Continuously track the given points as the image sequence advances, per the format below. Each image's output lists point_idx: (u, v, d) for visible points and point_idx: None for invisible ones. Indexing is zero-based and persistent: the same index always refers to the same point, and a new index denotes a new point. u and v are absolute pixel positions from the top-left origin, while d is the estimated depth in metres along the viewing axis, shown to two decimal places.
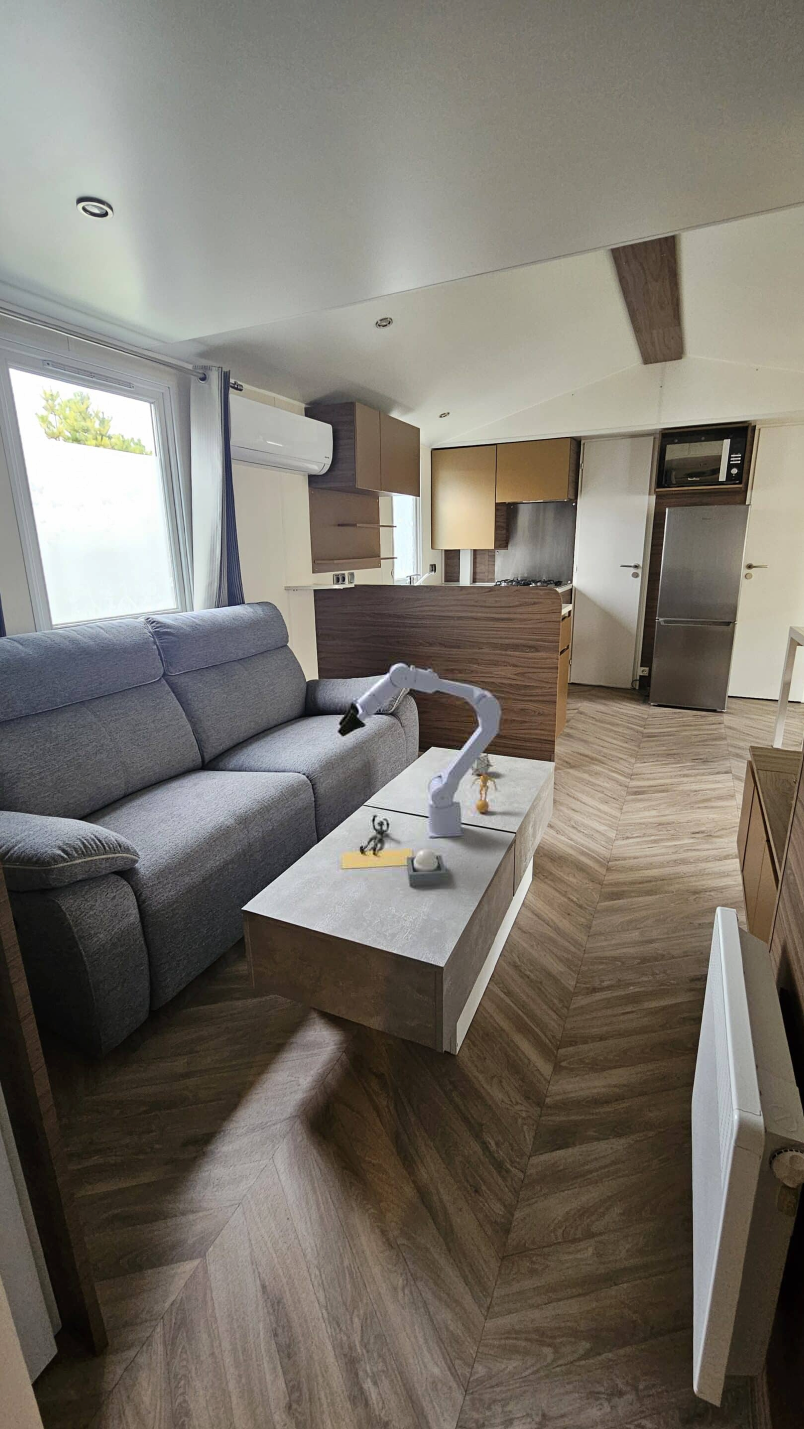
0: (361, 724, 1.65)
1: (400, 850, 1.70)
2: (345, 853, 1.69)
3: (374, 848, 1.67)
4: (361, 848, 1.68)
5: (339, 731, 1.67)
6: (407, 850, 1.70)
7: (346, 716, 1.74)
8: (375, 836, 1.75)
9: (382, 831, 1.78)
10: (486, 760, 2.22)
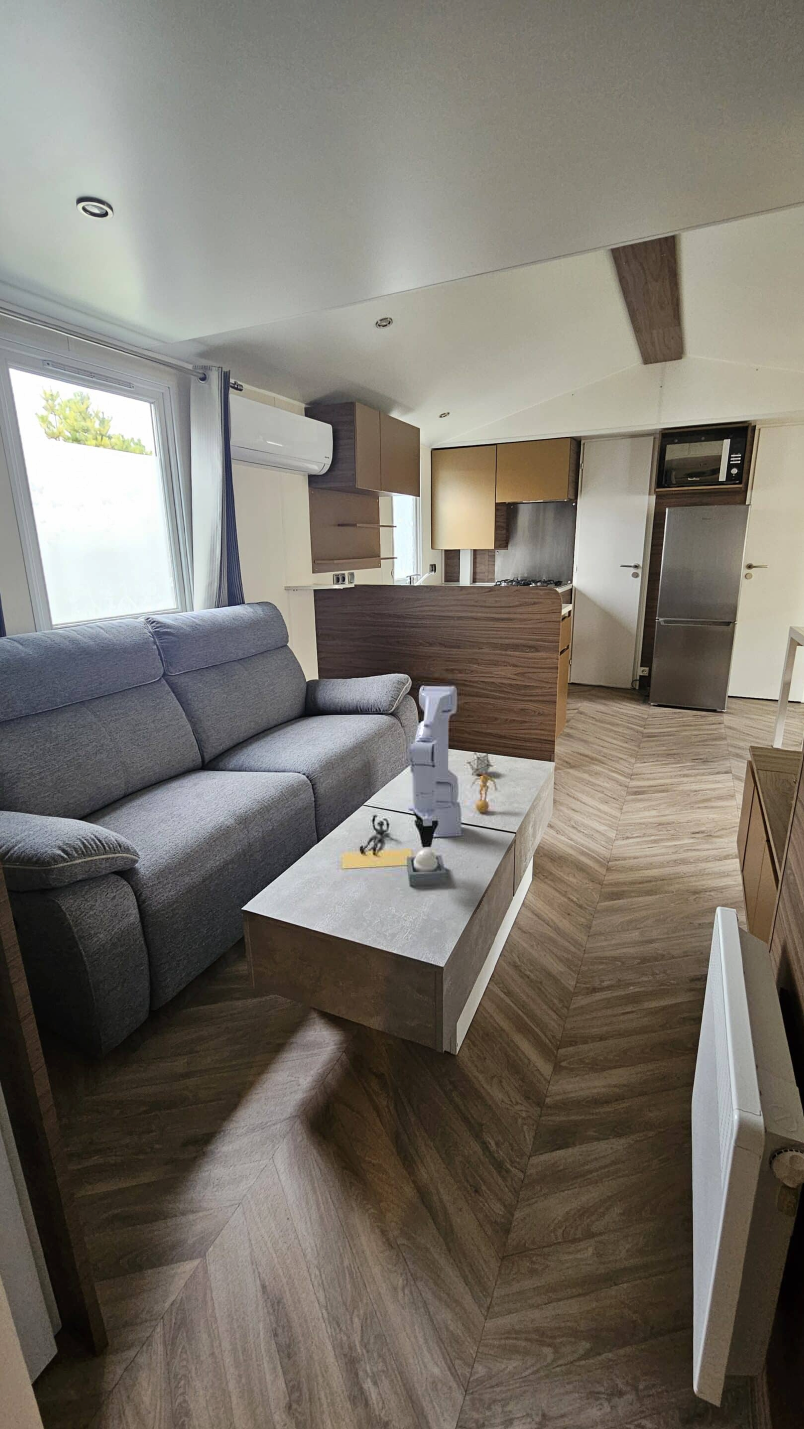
0: (433, 825, 1.47)
1: (400, 850, 1.70)
2: (345, 853, 1.69)
3: (374, 848, 1.67)
4: (361, 848, 1.68)
5: (423, 845, 1.50)
6: (407, 850, 1.70)
7: None
8: (375, 836, 1.75)
9: (382, 831, 1.78)
10: (486, 760, 2.22)
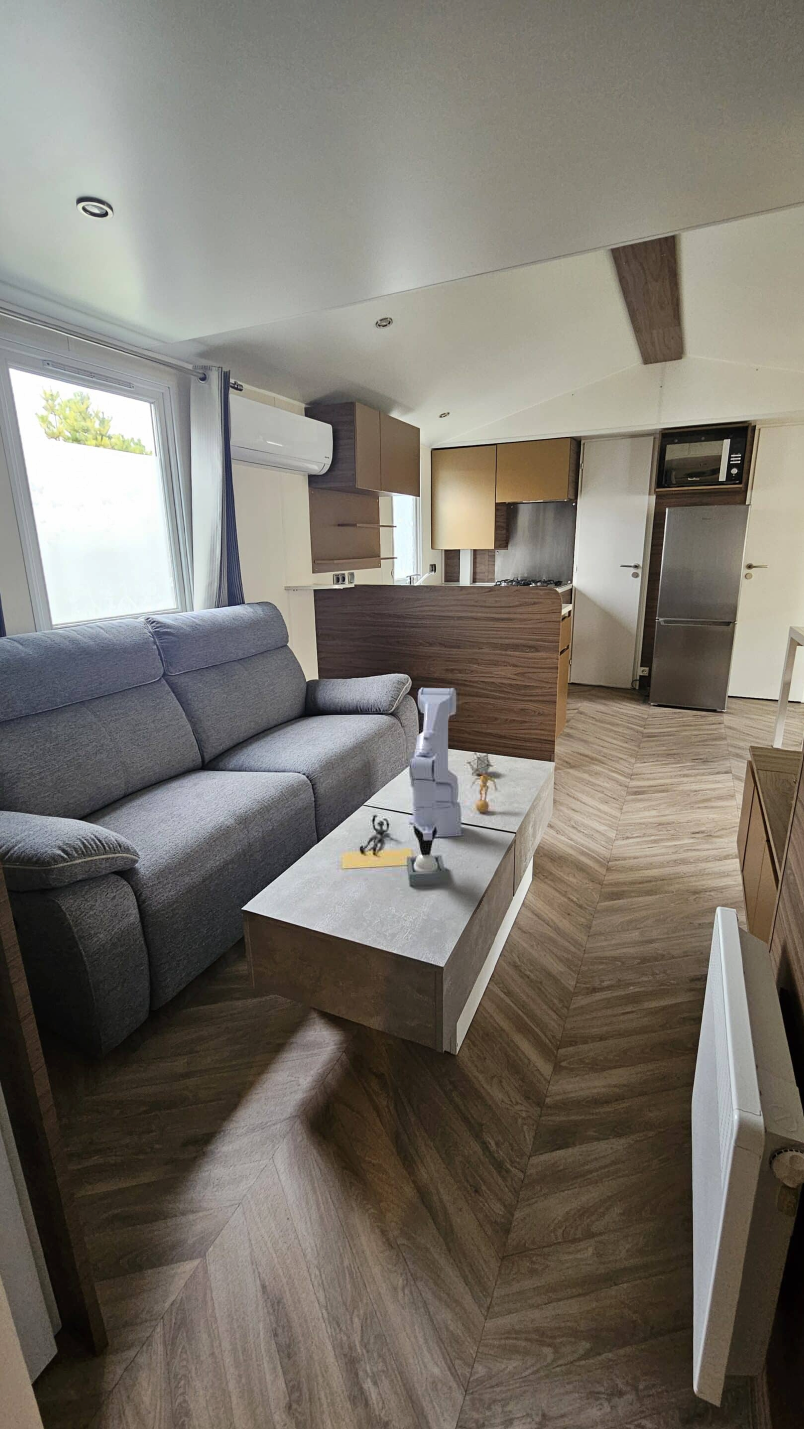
0: (432, 834, 1.51)
1: (400, 850, 1.70)
2: (345, 853, 1.69)
3: (374, 848, 1.67)
4: (361, 848, 1.68)
5: (422, 853, 1.54)
6: (407, 850, 1.70)
7: None
8: (375, 836, 1.75)
9: (382, 831, 1.78)
10: (486, 760, 2.22)
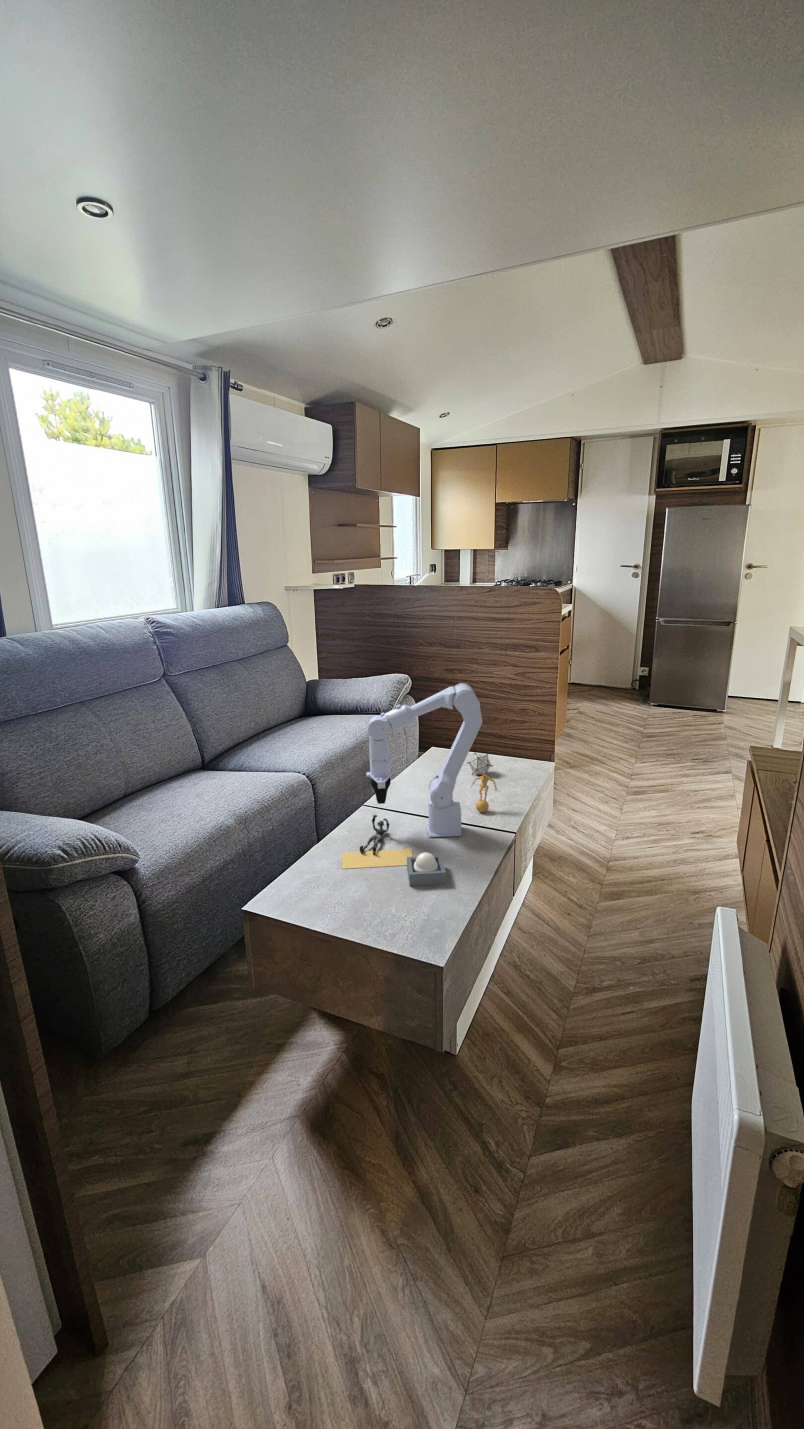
0: (386, 784, 1.74)
1: (400, 850, 1.70)
2: (345, 853, 1.69)
3: (374, 848, 1.67)
4: (361, 848, 1.68)
5: (378, 802, 1.78)
6: (407, 850, 1.70)
7: None
8: (375, 836, 1.75)
9: (382, 831, 1.78)
10: (486, 760, 2.22)
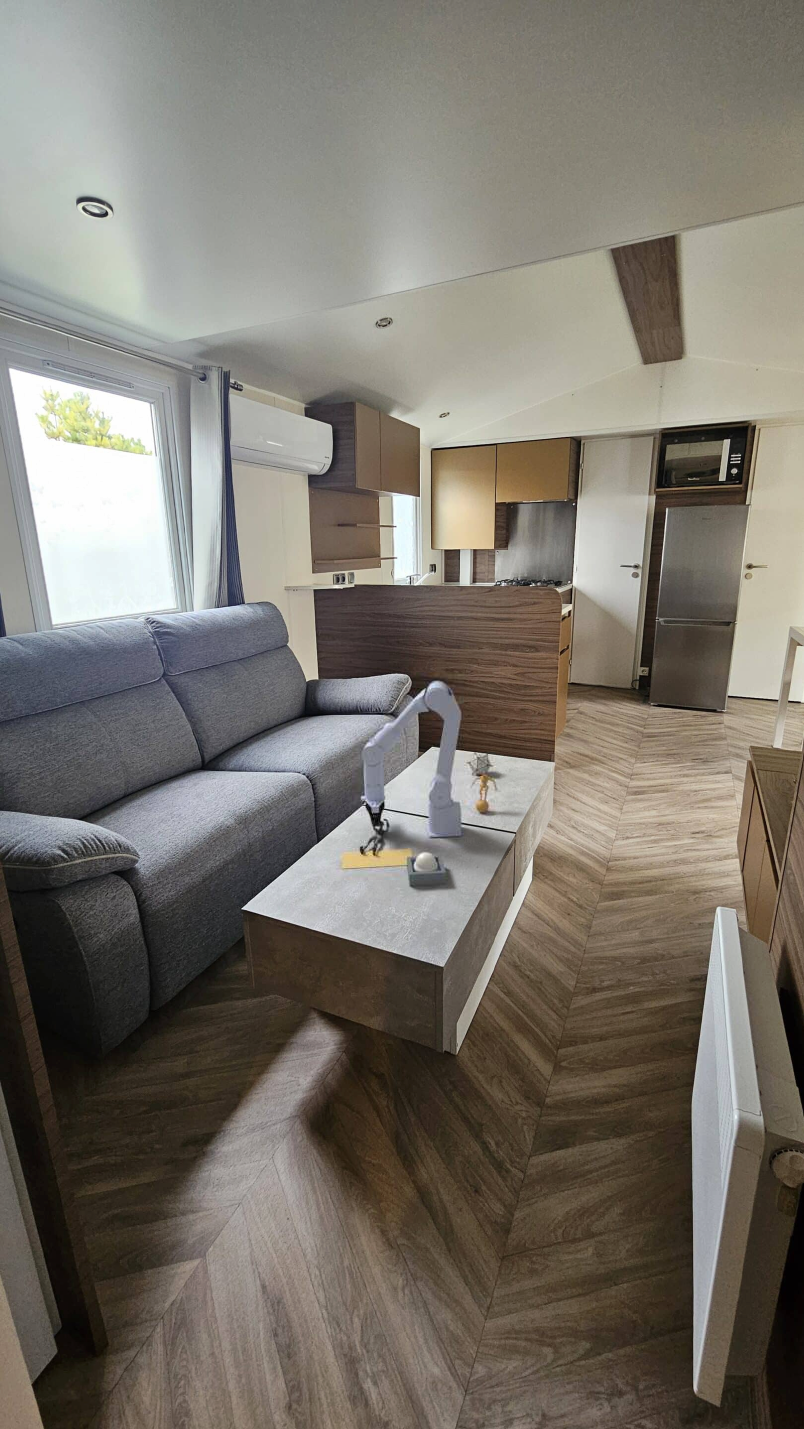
0: (380, 808, 1.79)
1: (400, 850, 1.70)
2: (345, 853, 1.69)
3: (374, 848, 1.67)
4: (361, 848, 1.68)
5: None
6: (407, 850, 1.70)
7: None
8: (375, 836, 1.75)
9: (382, 831, 1.78)
10: (486, 760, 2.22)
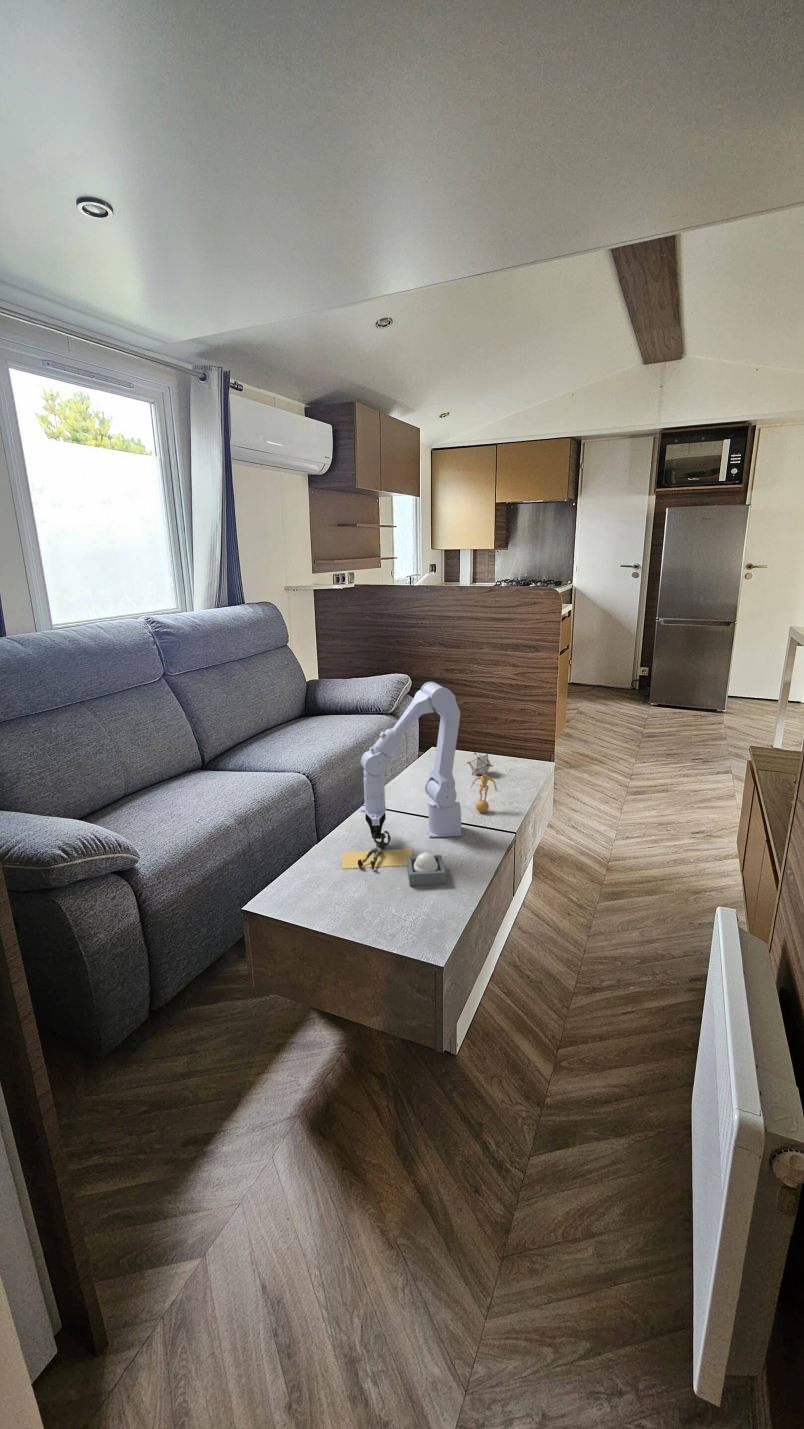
0: (381, 820, 1.71)
1: (400, 850, 1.70)
2: (345, 853, 1.69)
3: (373, 862, 1.59)
4: (359, 862, 1.60)
5: (373, 837, 1.74)
6: (407, 850, 1.70)
7: None
8: (375, 849, 1.67)
9: (383, 844, 1.70)
10: (486, 760, 2.22)
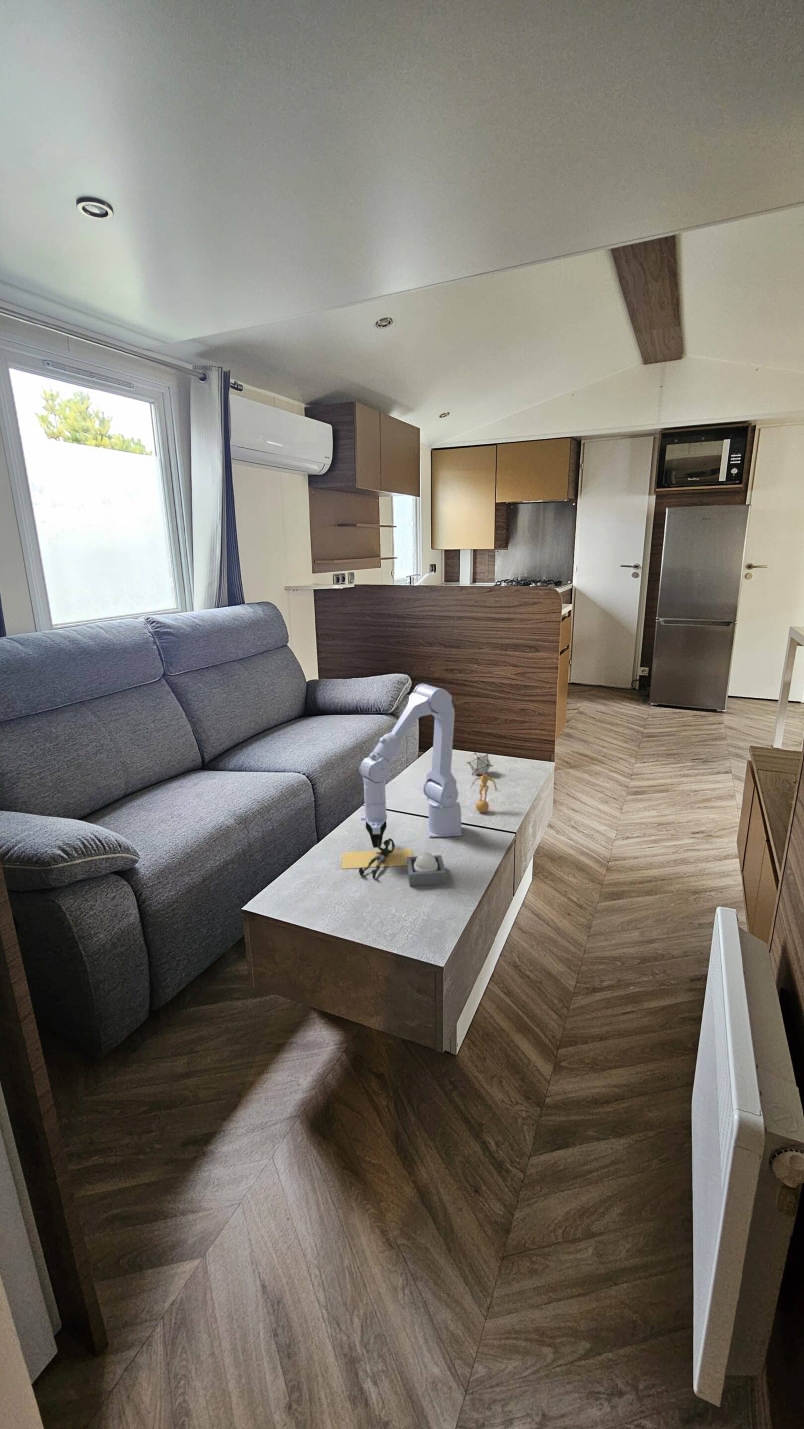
0: (382, 828, 1.66)
1: (400, 850, 1.70)
2: (345, 853, 1.69)
3: (374, 871, 1.55)
4: (360, 870, 1.56)
5: (374, 846, 1.69)
6: (407, 850, 1.70)
7: None
8: (378, 857, 1.63)
9: (387, 851, 1.66)
10: (486, 760, 2.22)
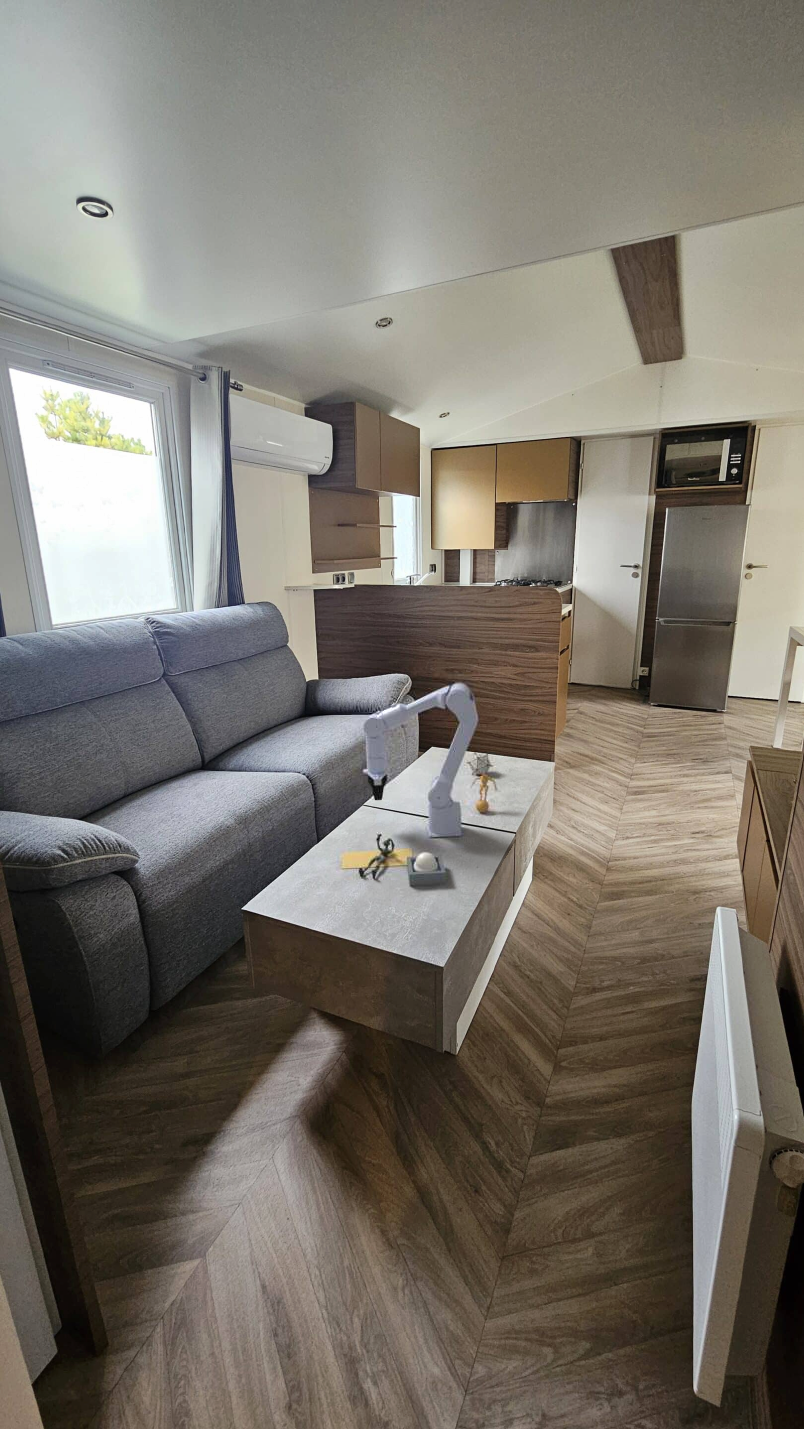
0: (383, 781, 1.77)
1: (400, 850, 1.70)
2: (345, 853, 1.69)
3: (374, 871, 1.55)
4: (360, 870, 1.56)
5: (375, 799, 1.80)
6: (407, 850, 1.70)
7: None
8: (378, 857, 1.63)
9: (387, 851, 1.66)
10: (486, 760, 2.22)
